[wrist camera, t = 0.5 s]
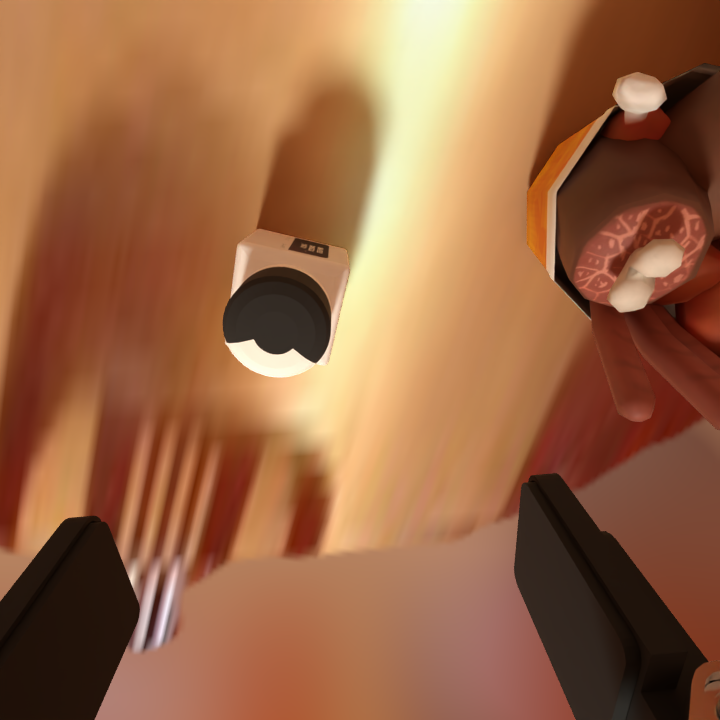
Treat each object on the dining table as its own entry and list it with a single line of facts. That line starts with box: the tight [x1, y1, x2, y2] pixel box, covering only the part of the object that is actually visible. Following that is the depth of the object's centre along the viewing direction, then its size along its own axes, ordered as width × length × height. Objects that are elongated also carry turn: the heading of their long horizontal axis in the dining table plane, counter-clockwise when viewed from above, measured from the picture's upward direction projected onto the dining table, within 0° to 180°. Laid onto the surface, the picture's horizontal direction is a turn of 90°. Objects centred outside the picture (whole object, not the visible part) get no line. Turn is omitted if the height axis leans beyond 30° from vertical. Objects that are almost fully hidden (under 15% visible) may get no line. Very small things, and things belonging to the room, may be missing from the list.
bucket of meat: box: [527, 63, 720, 430], centre depth 28 cm, size 20×16×20 cm
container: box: [223, 229, 350, 377], centre depth 32 cm, size 8×8×13 cm
